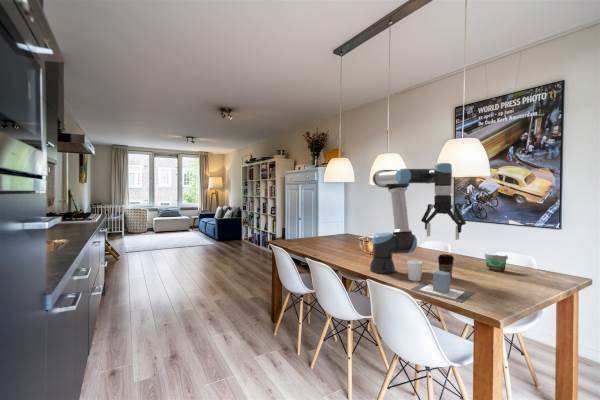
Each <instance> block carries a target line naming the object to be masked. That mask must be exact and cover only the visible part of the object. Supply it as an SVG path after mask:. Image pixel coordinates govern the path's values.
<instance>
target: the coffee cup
mask: <svg viewBox="0 0 600 400" xmlns="http://www.w3.org/2000/svg"><path fill="white" fill-rule="evenodd" d="M453 256H454V255H452V254H449V253H448V254H443V253H440V254H439V255H438V256H437V259H438V271H444V272H449V273H451V274H450V280H451V279H453V277H452V276H453V274H452V273H453V268H454V261H455V257H453Z"/></svg>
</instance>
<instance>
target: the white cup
mask: <svg viewBox="0 0 600 400" xmlns="http://www.w3.org/2000/svg"><path fill="white" fill-rule="evenodd" d="M406 263H407V265H406V267H407V268H406V269H407V279H408V280H409V281H413V282H420V281H421V280H422V274H423V273H422V272H423V261H421V260H416V259H412V260H411V259H410V260H407V261H406Z"/></svg>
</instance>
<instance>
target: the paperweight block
mask: <svg viewBox="0 0 600 400" xmlns="http://www.w3.org/2000/svg"><path fill="white" fill-rule="evenodd" d="M450 274H451V273H449V272H444V271H439V270H436V271H434V272H433V275H432V283H433V291H436V292H441V293H445V294H446V293H448V292H449V291H450V287H451V279H450Z"/></svg>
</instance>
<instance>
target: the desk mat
mask: <svg viewBox="0 0 600 400" xmlns="http://www.w3.org/2000/svg"><path fill="white" fill-rule="evenodd" d="M429 284H433V282H430V281H429V282H428V281H423V282H422V283H420V284H418V285H416V286H414V287H412V288H410V291H415V292H417V293H422V294H427V295H430V296H434V297H438V298H441V299H442V298H443V299H445V300H449V301H450V300H451V301H454V302H458V303H461V304H462V303H464V302H465V301H467V299H468V298H470V297H472V296H473V295H474V294H475V292H474V291H470V290H466V289H460V288H456V287H452V286H450V288H451V289H455V290H459V291H464V293H463V294H461V295H460V296H459V297H457V298H456V299H454V298H450V297H446V296H442V295H438V294H434V293H430V292H426V291H422V290H420V289H421V288H423V287H425V286H427V285H429Z"/></svg>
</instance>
